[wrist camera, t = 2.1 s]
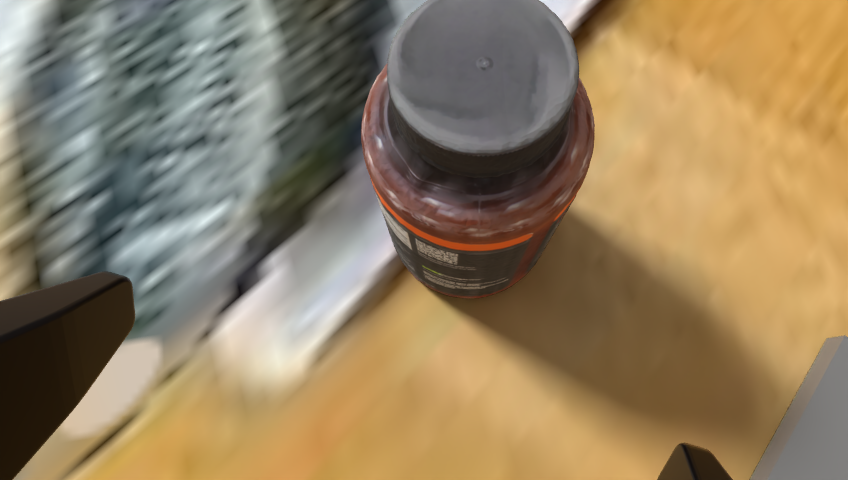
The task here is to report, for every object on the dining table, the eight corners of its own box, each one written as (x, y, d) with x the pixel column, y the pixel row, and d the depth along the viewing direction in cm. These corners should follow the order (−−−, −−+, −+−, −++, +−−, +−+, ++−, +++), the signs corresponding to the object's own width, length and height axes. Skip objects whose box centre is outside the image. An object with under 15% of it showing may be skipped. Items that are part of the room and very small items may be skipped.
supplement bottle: (527, 144, 24) (598, -78, 13) (559, 288, 22) (672, 174, 11) (380, 168, 24) (325, -37, 13) (401, 313, 22) (360, 224, 11)
